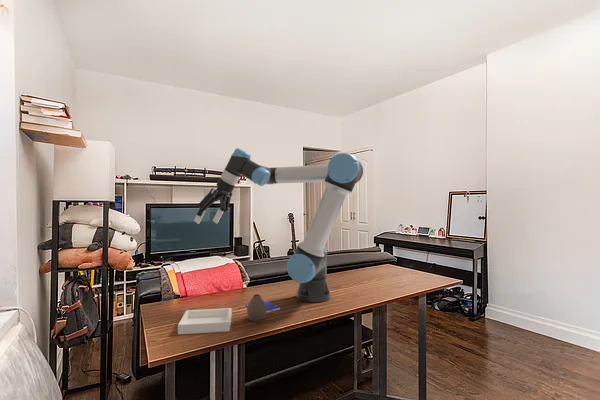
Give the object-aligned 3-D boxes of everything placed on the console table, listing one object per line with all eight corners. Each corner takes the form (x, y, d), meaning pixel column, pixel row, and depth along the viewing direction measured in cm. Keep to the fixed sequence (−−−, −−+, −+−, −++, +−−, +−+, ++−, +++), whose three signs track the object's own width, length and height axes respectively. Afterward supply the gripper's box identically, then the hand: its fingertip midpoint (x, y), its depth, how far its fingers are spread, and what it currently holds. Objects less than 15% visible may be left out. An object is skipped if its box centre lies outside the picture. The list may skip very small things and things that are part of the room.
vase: (250, 324, 106) (250, 299, 106) (244, 318, 112) (244, 293, 112) (269, 321, 109) (269, 296, 109) (262, 315, 115) (262, 291, 116)
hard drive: (246, 303, 126) (263, 311, 117) (262, 299, 131) (280, 306, 122) (246, 307, 126) (263, 315, 117) (262, 303, 131) (280, 310, 122)
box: (231, 316, 114) (231, 307, 114) (229, 331, 100) (229, 321, 100) (186, 318, 111) (186, 310, 111) (177, 334, 98) (177, 325, 98)
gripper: (236, 180, 150) (216, 218, 152) (204, 173, 127) (181, 217, 129) (247, 188, 148) (227, 226, 150) (217, 182, 124) (194, 227, 127)
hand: (206, 222), depth 140 cm, fingers open, 13 cm apart
